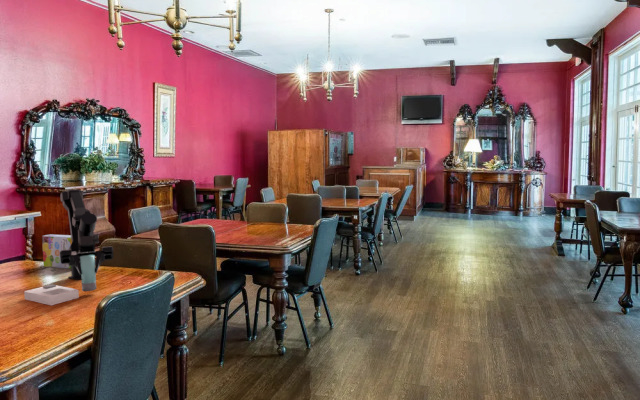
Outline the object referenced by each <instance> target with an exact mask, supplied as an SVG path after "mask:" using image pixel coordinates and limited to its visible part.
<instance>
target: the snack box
mask: <svg viewBox="0 0 640 400" xmlns="http://www.w3.org/2000/svg"><path fill="white" fill-rule="evenodd" d="M41 236H42V237H41V239H42V240H41V241H42V242H41V243H42V259H43V261H42V262H43V263H42V264H43V267H45V268H47V267H48V268H57V269H58V268H59V269H69V270H71V265H70V266H69V265H68V264H67V263H66V264H62V263H61V260H60V251H61V250H69V248H70V246H71V244H72V239H71V234H70V235H69V234H53V233H52V234H51V233H50V234H45V235H41Z"/></svg>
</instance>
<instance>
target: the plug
mask: <svg viewBox="0 0 640 400" xmlns="http://www.w3.org/2000/svg"><path fill="white" fill-rule="evenodd" d="M80 261H81V279H80V280H81V291H82V292H93V291H95V290H97V276H96V275H97V273H96V272H95V266H96V257H95V255H83V256H80Z"/></svg>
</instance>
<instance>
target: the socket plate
mask: <svg viewBox="0 0 640 400" xmlns="http://www.w3.org/2000/svg"><path fill="white" fill-rule="evenodd" d="M23 292H24V294H23V295H24V300H26V301H31V302H36V303H39V304H43V305H48V306H54V305H57V304H58V305H59V304H60V303H64V302H69V301H72V300H76V299H80V296H79V295H80V293H79V289H76V288H72V287H67V286H61V285H56V284H47V285H43V286H41V287H37V288H32V289H28V290H24V291H23Z"/></svg>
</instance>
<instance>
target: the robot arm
mask: <svg viewBox="0 0 640 400" xmlns="http://www.w3.org/2000/svg"><path fill="white" fill-rule="evenodd" d="M83 193H84V192H83V190H81V189H77V188H76V189H75V188H74V189H73V188H72V189H68V190H63V191H62V192H61V193H60V202H61V203H62V207H63V208H64V209H65V210H66V211H67V215H68V223H69V232H70V235H71V239H72V244H71V246H70V248H69V250H61V251H60V260H61V263H62V264H66V263H67V264H68V265H69V266H70V265H71V269H70V271H71V275H70V276H68V277H67V279H71V280H72V279H73V280H77V281H78V280H81V261H80V256H83V255H95V272H96V274H97V273H98V271H99V268H100V266H101V264H102V263H103V262H105V261H109V260H113V259H114V247H113V246H108V245H107V246H102V247H101V249H102V250H96V244H99V243H100V239H99V236H100V235H99V234H98V233H96V234H94V232H95V230H96V225H97V220H98V217H97V216H96V215H95V214H94V213H92V212H91V211H90V210H89V209H87V208H86V206H85V203H84V194H83Z"/></svg>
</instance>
